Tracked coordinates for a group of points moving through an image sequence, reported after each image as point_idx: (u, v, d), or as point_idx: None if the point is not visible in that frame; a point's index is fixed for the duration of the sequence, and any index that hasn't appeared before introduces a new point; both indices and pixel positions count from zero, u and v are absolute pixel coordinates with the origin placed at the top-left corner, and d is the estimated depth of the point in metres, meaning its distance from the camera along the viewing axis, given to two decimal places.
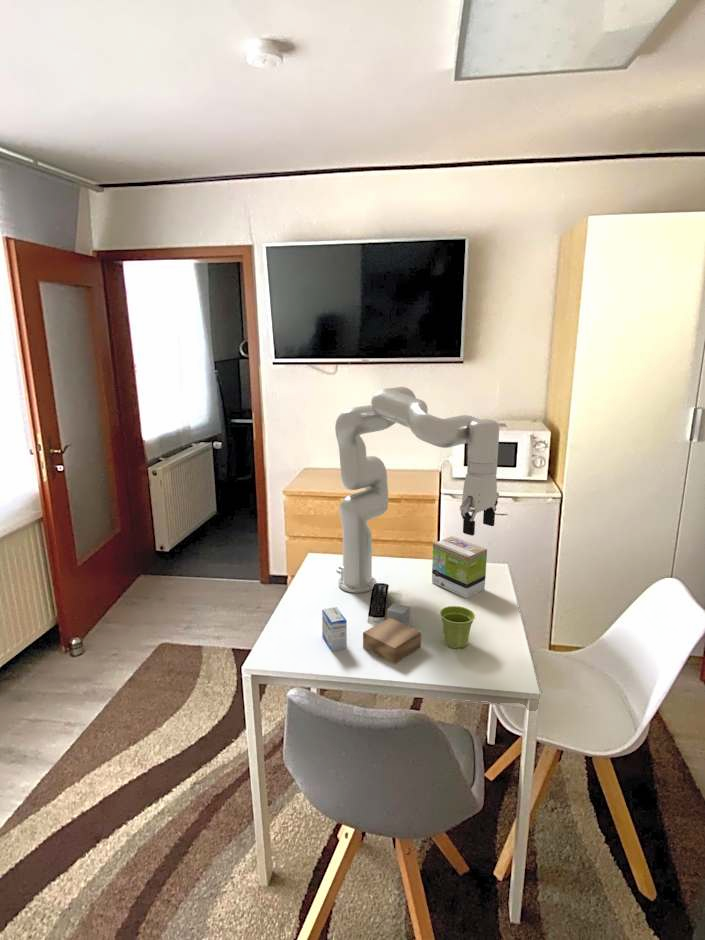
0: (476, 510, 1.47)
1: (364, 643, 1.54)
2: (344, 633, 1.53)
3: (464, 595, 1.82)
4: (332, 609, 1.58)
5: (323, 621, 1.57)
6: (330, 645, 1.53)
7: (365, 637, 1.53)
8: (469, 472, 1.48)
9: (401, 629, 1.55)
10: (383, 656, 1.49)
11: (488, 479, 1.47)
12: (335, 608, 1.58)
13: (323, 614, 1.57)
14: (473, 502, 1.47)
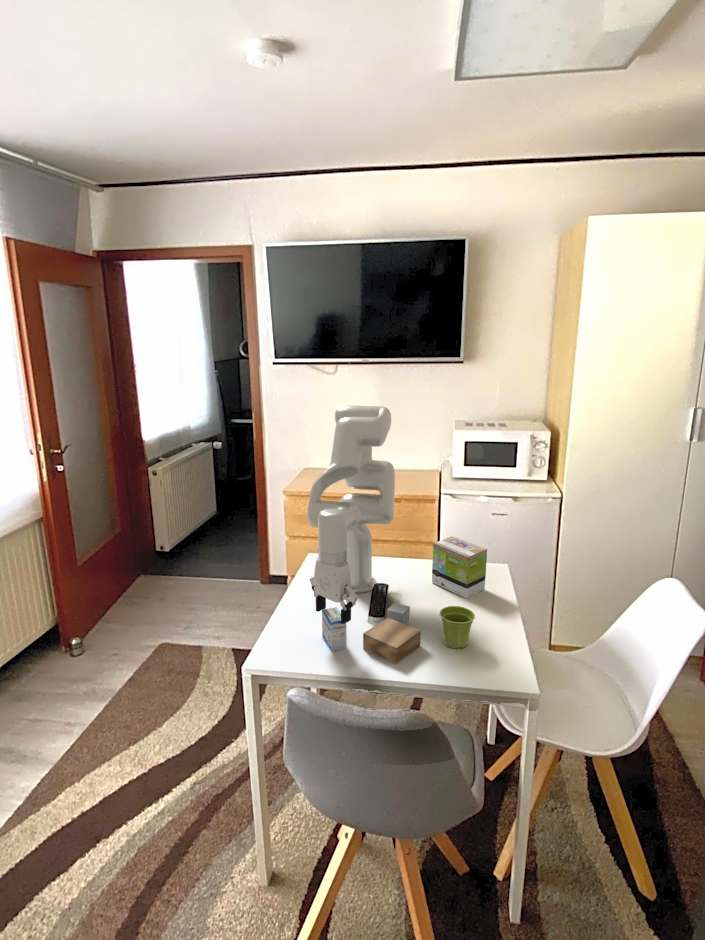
0: None
1: (364, 644, 1.53)
2: (344, 633, 1.53)
3: (464, 595, 1.82)
4: (332, 609, 1.58)
5: (323, 621, 1.57)
6: (330, 645, 1.53)
7: (365, 638, 1.53)
8: (337, 564, 1.47)
9: (400, 628, 1.55)
10: (384, 657, 1.49)
11: None
12: (335, 608, 1.58)
13: (323, 614, 1.57)
14: None
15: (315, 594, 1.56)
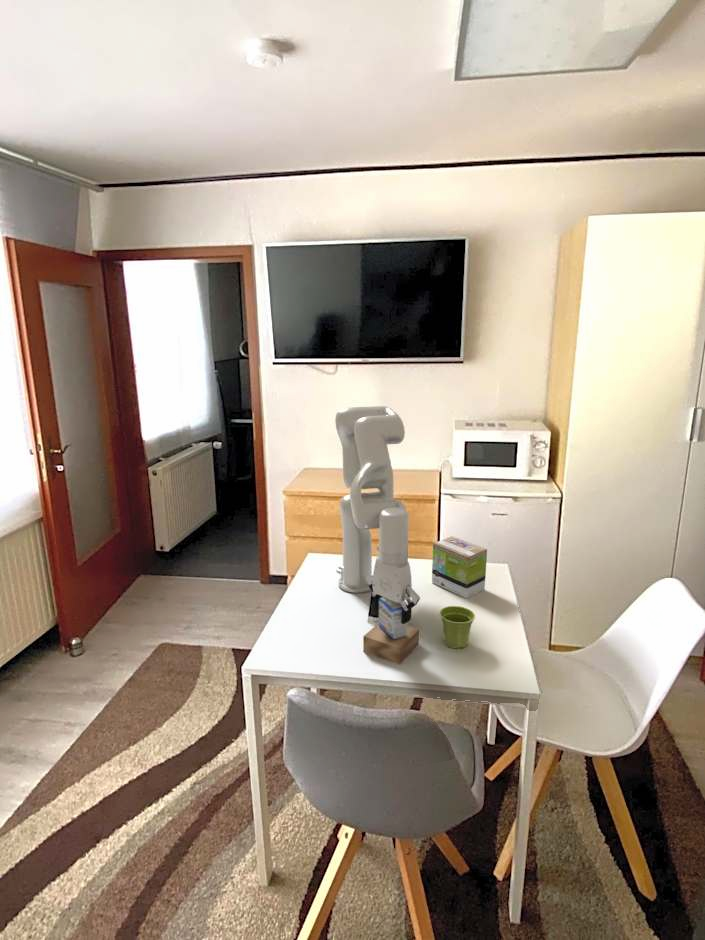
0: None
1: (365, 647, 1.52)
2: None
3: (464, 595, 1.82)
4: None
5: (380, 610, 1.54)
6: (391, 633, 1.50)
7: (366, 640, 1.51)
8: (399, 565, 1.45)
9: None
10: (387, 658, 1.49)
11: None
12: None
13: (380, 602, 1.53)
14: None
15: (373, 593, 1.54)
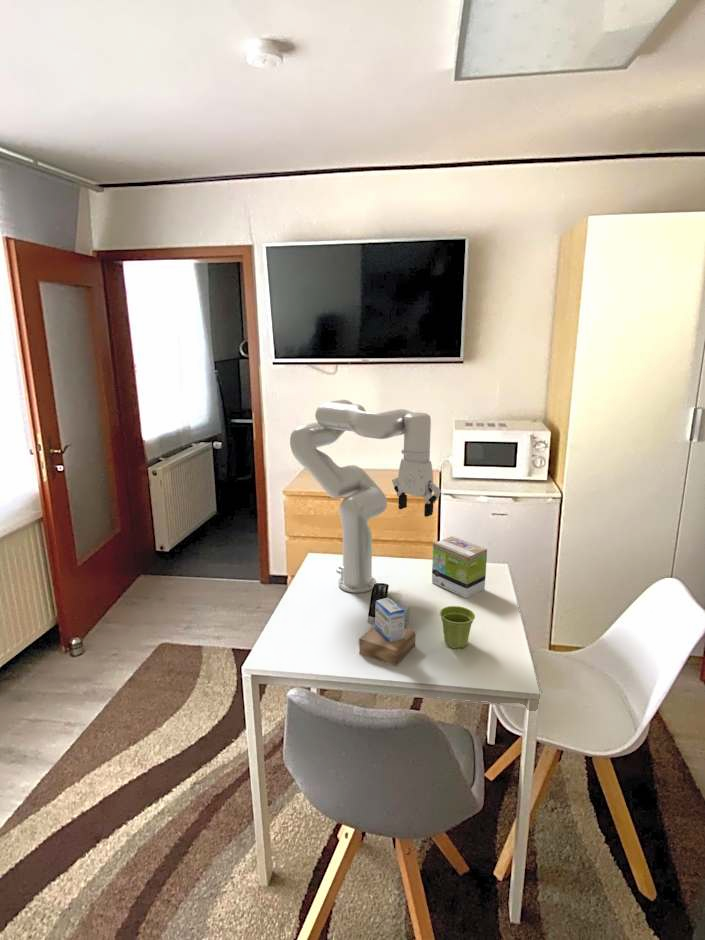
0: None
1: (361, 649, 1.51)
2: (402, 623, 1.49)
3: (464, 595, 1.82)
4: (386, 600, 1.53)
5: (377, 612, 1.53)
6: (388, 636, 1.49)
7: (362, 643, 1.51)
8: (422, 461, 1.63)
9: None
10: (383, 660, 1.48)
11: None
12: (388, 598, 1.54)
13: (377, 605, 1.52)
14: None
15: (398, 493, 1.72)
